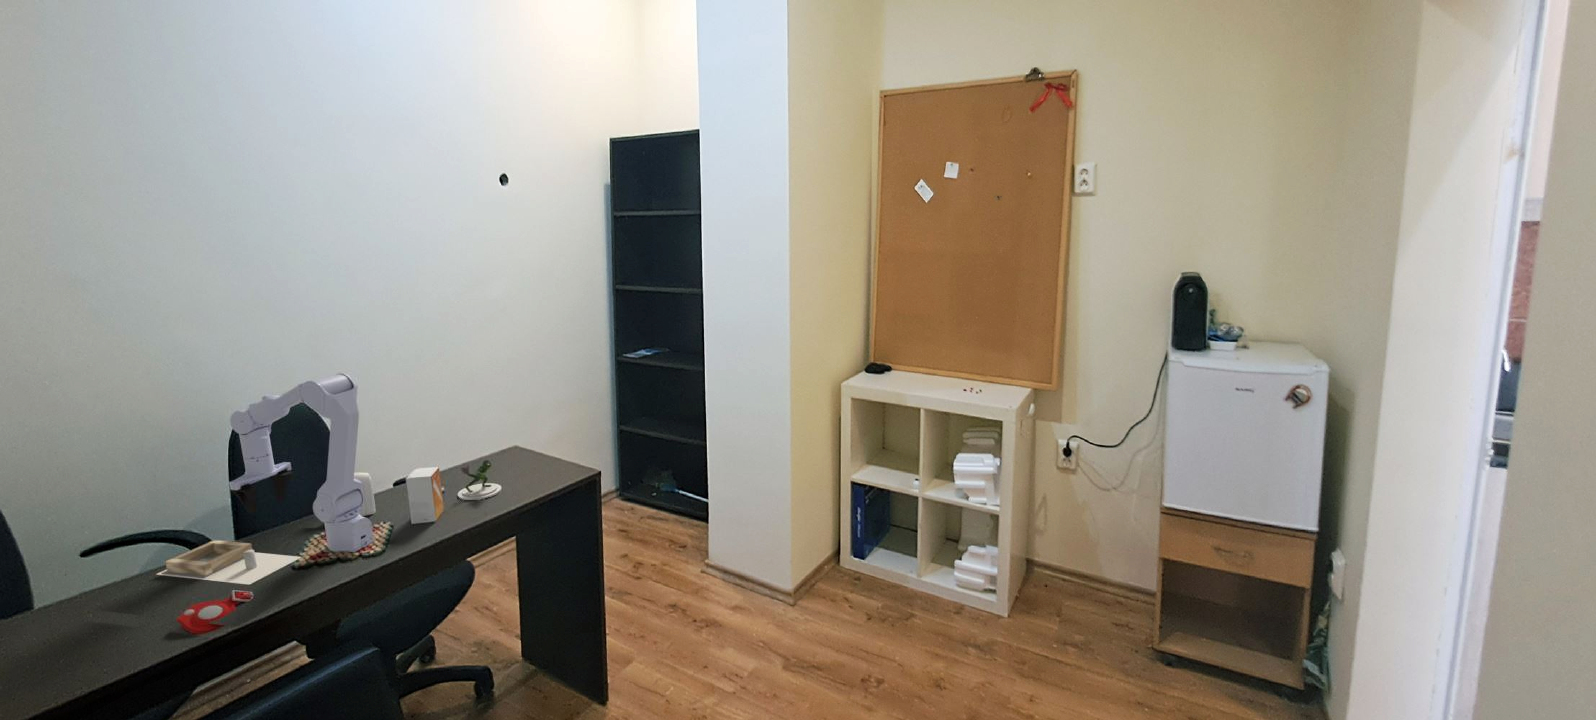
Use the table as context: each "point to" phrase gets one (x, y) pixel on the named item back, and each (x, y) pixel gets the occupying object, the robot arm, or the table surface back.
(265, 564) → the board
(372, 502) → the photo printer
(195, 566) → the beige rectangular frame
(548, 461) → the table surface
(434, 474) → the small box
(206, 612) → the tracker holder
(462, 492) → the monster figurine
